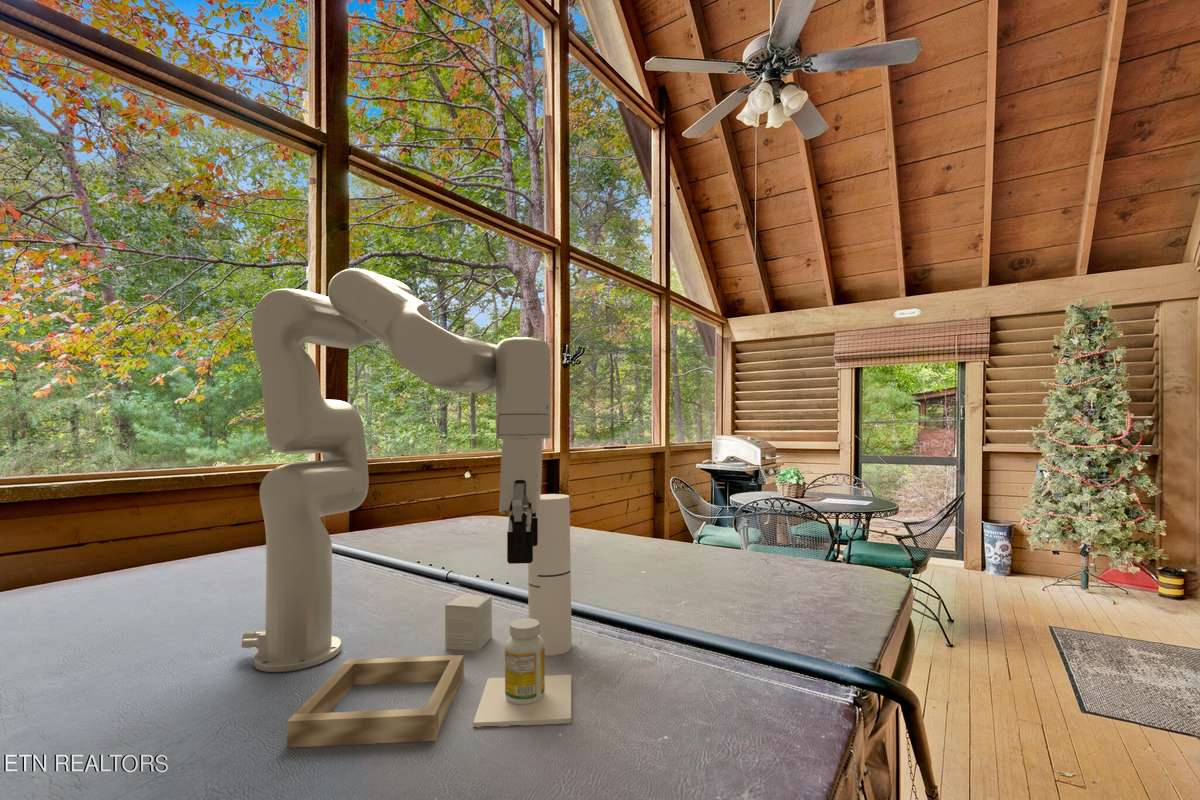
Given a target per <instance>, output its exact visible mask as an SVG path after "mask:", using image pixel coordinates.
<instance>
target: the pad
mask: <svg viewBox="0 0 1200 800" xmlns="http://www.w3.org/2000/svg"><path fill="white" fill-rule="evenodd" d="M560 724H561V725H562V724H565V725H566V724H572V674H557V675H556V674H555V675H554V674H552V675H545V692H544V695H543V697H542V698H541V699H540V700H538V701H536V702H534V703H531V704H523V705H520V704H514V703H511V702H509V701H508V700H507V699H506V696H505V676H504V677H488V678H487V680H486V683H485V687H484V689H483V693H482V696H481V698H480V702H479V705H478V708H477V711H476V714H475V717H474V720H473V722H472V725H473V726H472V728H473V727H477V728H479V727H478V726H499V727H503V726H502V725H521V726H536V725H537V726H538V725H539V726H540V725H560Z"/></svg>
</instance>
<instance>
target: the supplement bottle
mask: <svg viewBox="0 0 1200 800" xmlns="http://www.w3.org/2000/svg"><path fill="white" fill-rule="evenodd" d="M539 632H540V623H539V621H538V620H536V619H530V618H529V617H528V618H527V617H526V618H518V619H515V620H512V621H510V624H509V635H510V637H509V638H507V640H506V642H505V644H504V677H505V696H506V699H507V700H508V701H509V702H511V703H514V704H520V705H523V704H531V703H534V702H536V701H538V700H540V699H541V698H542V697H543V695H544V692H545V676H546V673H545V670H546V669H545V666H546V665H545V661H546V660H545V657H546V656H545V645H544V640H543V638H542V637H541V636H539V635H538V634H539Z"/></svg>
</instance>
